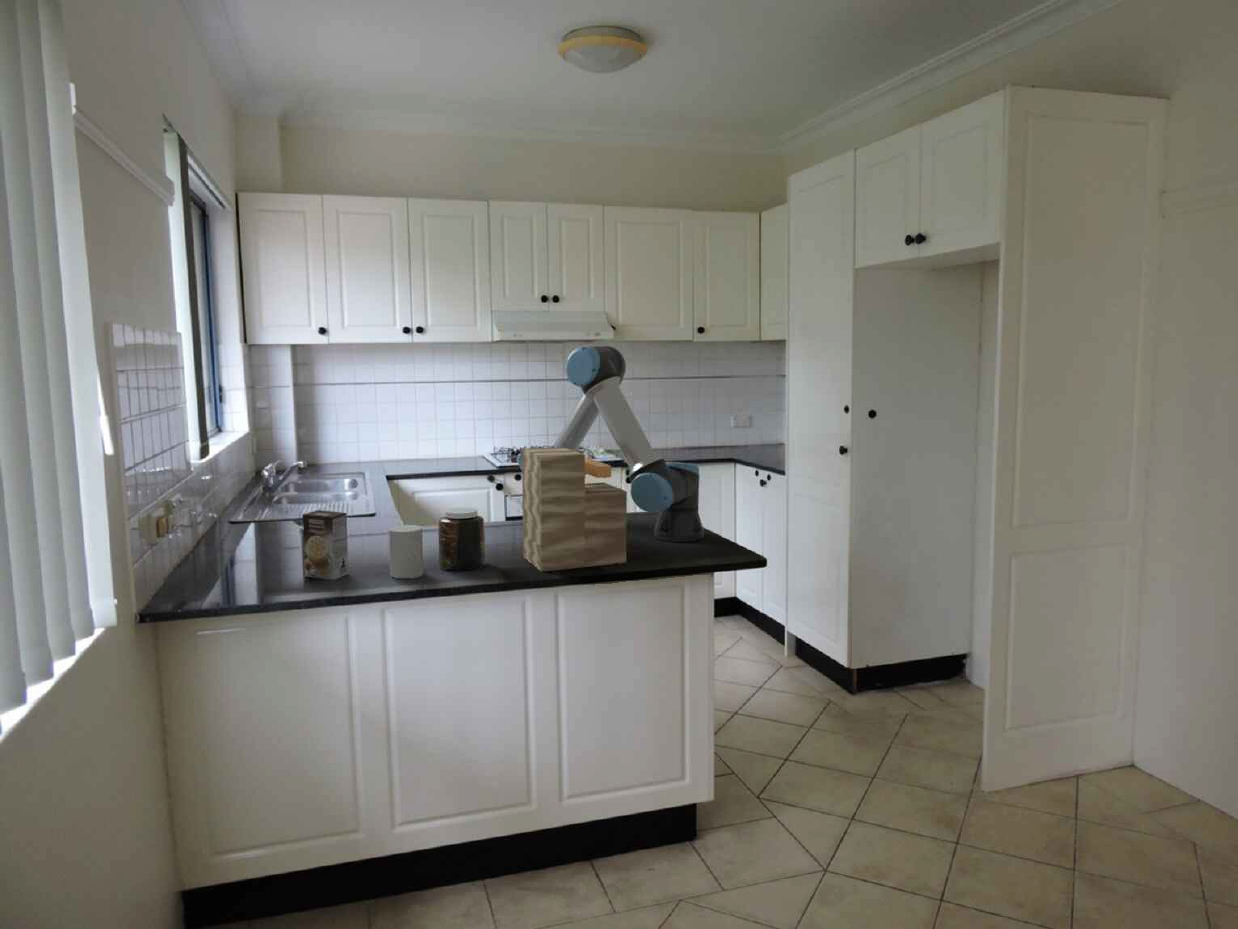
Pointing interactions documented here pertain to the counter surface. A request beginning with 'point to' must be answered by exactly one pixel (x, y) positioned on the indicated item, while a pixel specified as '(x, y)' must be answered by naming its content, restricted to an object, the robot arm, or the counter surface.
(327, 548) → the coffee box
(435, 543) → the counter surface
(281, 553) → the counter surface
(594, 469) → the orange box
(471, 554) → the jar
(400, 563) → the cup
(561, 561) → the wooden stepped block
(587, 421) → the robot arm
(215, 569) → the counter surface
